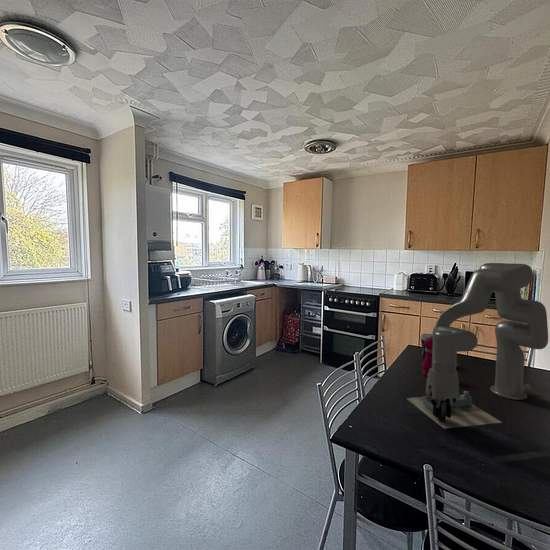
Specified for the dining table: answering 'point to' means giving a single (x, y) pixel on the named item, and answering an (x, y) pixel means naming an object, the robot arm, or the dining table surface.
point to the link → (461, 402)
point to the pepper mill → (428, 355)
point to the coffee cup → (423, 338)
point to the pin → (443, 410)
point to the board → (457, 415)
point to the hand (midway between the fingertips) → (441, 416)
